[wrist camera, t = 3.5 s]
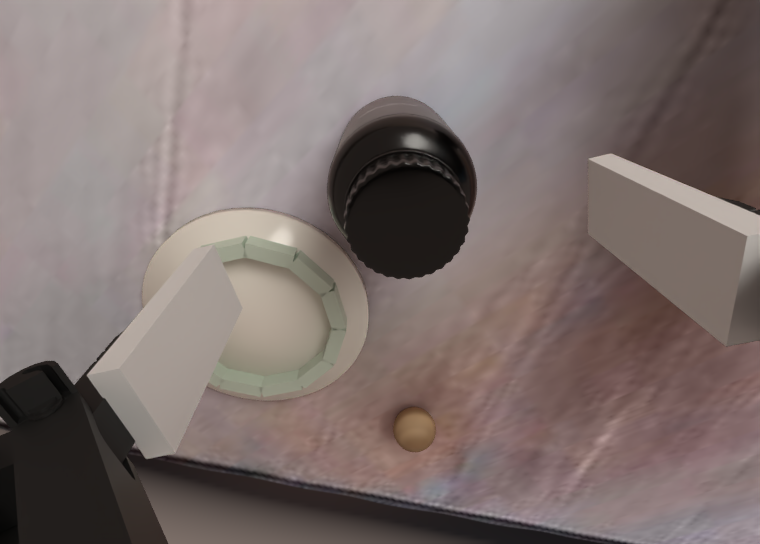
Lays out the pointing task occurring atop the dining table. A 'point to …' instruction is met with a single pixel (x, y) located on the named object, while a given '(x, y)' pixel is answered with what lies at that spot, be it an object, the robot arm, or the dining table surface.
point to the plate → (276, 301)
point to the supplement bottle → (401, 188)
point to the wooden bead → (414, 429)
